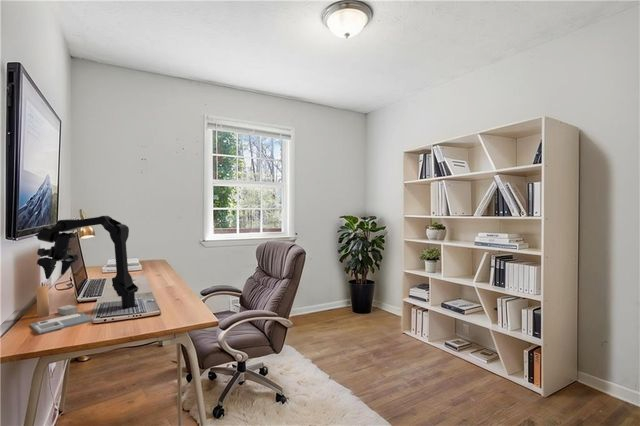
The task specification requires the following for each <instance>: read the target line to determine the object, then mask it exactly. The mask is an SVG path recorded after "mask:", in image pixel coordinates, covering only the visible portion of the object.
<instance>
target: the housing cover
mask: <svg viewBox="0 0 640 426" xmlns="http://www.w3.org/2000/svg"><path fill="white" fill-rule="evenodd" d="M76 313H79V309H78V306H76V305H72V304H68V305H67V304H66V305H63V306H59V307H57V314H60V315H61V316H62V315H63V316H67V315H71V314H76Z"/></svg>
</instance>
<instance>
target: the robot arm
mask: <svg viewBox="0 0 640 426" xmlns="http://www.w3.org/2000/svg"><path fill="white" fill-rule="evenodd" d="M99 225H101V226H102V227H103V229H104V230H105V231H107V232H108V234H109V236H110V240H111V241H112V243H113V244H114V255H115V257H114V258H115V259H114V260H115V269H116V270H115V271H116V273H115V274H116V275H115V276H114V277H112V278H111V283H112V286H111V287H112V288H113V290H114V291H115V292H116V295H117V297H120V300H121V301H120V302H121V304H120V305H118V308H120V309H123V310H128V309H130V308H135V307H138V306H139V304H137V303H136V295H135V294H136V293H137V292H138V290H139V286H137V285H136V284H135V283H134V281H133V277H132V275H131V274H130V272H129V266H128V252H127V241H128V238H129V233H130V229H129V226H127V225H126V224H124V223H122V222H120V221H117V220H116V219H115V218H114V219H113V218H112V217H111V216H110V215H101V216H97V217H96V216H95V217H88V218H81V219H76V218H75V219H74V218H73V219H72V218H69V219H59V220H57V222H56V224H55V225H54V226H52V227H49V226H43V227H42V228H41V229H40V230H39V232H38V233H37V234H36V238H37V240H39V241H42V242H46V243H50V244H51V243H54V245H52V246H51V247H50V248H47V249H45V247H43V248H38V249H37V256H39V257H40V258H38V259H37V261H36V265H38V266H39V267H42V268H43V269H42V270H43V272H44V276H45V279H46V280H50V277H51V276H52V275H53V273H54V270H55V269H56V265H57V263H58V262H61V268H60V270H61V271H60V275H62V276H64V275H65V274H66V273H67V271H68V270H69V269H70V268H71V267H72V266H73V265H74V263H76V262H77V261H78V260H79V256H78V254H76V253H72V252H69V251H71V250H72V248H71V247H70V243H71V239H75V238H77V236H76V235H75V234H74V231H76V230H78V229H81V228H85V227H90V226H99Z"/></svg>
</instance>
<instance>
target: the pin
mask: <svg viewBox="0 0 640 426" xmlns="http://www.w3.org/2000/svg"><path fill="white" fill-rule="evenodd" d="M35 289H36V290H35V291H36V309H37V312H36V313H37V317H38V318H45V317H48V316H50V307H49V306H50V305H49V303H50V302H49V286H48V285H42V286H41V285H40V286H38V287H36V288H35Z"/></svg>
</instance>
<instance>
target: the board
mask: <svg viewBox="0 0 640 426" xmlns="http://www.w3.org/2000/svg"><path fill="white" fill-rule="evenodd" d="M92 320H93V321H94V318H92V317H91V316H89V315H88V314H86V313H84V312H82V311H81V312H77V313H73V314H69V315H63V316H62V315H61V316H59V317H53V318H51V319H50V318H49V319H45V320H40V321H36V322H31V323H30V327H31V328H32V329H33V330H34V331H35V332H36V333H37V334H38V335H41V334H46V333H51V332H54V331H57V330H58V331H59V330H61V329H66V328H69V327H74V326H78V325H82V324H86V323H90V322H93V321H92Z"/></svg>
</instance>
